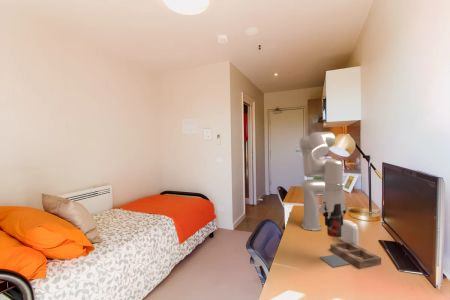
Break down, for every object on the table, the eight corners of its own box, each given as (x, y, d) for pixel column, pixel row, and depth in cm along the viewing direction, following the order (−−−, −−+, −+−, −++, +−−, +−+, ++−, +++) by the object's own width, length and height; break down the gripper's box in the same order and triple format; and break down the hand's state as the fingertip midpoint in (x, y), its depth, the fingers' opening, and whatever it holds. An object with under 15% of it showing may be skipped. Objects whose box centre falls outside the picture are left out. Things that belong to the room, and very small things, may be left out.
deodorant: (343, 234, 103) (342, 202, 103) (338, 238, 99) (338, 205, 99) (330, 231, 107) (329, 200, 107) (325, 235, 103) (324, 203, 103)
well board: (330, 250, 114) (330, 244, 114) (349, 246, 118) (349, 241, 117) (359, 268, 97) (359, 262, 97) (381, 264, 100) (381, 257, 100)
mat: (319, 257, 107) (319, 257, 107) (335, 255, 109) (335, 254, 109) (333, 267, 98) (333, 266, 98) (349, 264, 100) (349, 263, 100)
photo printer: (339, 239, 126) (339, 218, 126) (345, 238, 127) (345, 217, 127) (353, 247, 116) (353, 224, 116) (360, 246, 117) (360, 223, 117)
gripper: (342, 184, 109) (343, 220, 109) (312, 186, 104) (312, 224, 105) (355, 187, 101) (355, 226, 102) (323, 189, 97) (323, 230, 97)
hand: (333, 225), depth 103 cm, fingers closed on deodorant, 6 cm apart
